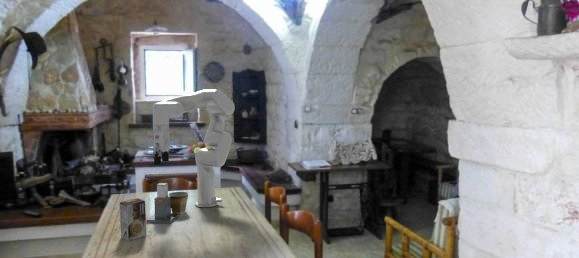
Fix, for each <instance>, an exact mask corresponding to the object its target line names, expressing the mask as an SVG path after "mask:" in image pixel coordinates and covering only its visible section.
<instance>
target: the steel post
mask: <svg viewBox="0 0 579 258" xmlns="http://www.w3.org/2000/svg"><path fill="white" fill-rule="evenodd" d="M168 196H169V184H168V182H159V183H157V184H156V197H157V198H167V197H168Z"/></svg>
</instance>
